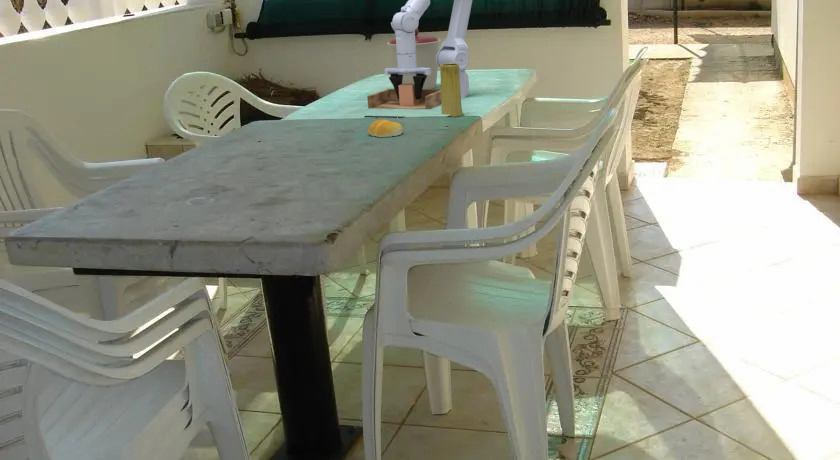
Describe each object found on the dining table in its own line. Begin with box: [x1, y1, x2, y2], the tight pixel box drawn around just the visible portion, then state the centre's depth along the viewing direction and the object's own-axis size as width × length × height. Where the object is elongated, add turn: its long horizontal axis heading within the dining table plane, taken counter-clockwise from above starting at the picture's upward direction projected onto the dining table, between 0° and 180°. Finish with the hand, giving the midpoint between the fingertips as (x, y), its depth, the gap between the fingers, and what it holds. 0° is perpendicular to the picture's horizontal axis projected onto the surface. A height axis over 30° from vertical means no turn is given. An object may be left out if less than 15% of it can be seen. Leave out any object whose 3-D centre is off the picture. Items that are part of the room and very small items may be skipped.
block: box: [398, 83, 419, 106], centre depth 267 cm, size 4×4×6 cm
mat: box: [364, 115, 405, 119], centre depth 257 cm, size 10×12×1 cm
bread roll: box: [367, 118, 404, 138], centre depth 227 cm, size 8×9×4 cm
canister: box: [386, 28, 442, 89], centre depth 298 cm, size 18×18×21 cm
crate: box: [366, 88, 442, 110], centre depth 267 cm, size 14×20×4 cm
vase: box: [439, 63, 464, 118], centre depth 247 cm, size 6×6×14 cm
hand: (409, 98), depth 268 cm, fingers open, 5 cm apart
